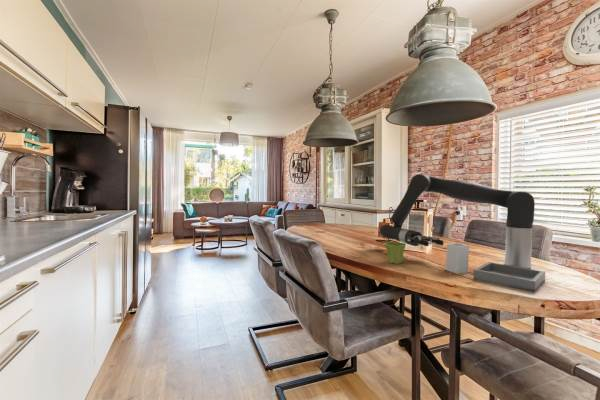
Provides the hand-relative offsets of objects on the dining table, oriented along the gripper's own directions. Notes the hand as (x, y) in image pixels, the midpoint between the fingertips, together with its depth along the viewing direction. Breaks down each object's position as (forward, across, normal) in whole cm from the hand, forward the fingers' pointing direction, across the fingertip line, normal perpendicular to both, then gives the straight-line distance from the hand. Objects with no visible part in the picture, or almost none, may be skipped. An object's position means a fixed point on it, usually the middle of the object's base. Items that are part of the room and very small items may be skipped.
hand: (435, 243), depth 127 cm
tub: (+12, 0, +9) cm, 15 cm away
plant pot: (-8, -15, +10) cm, 20 cm away
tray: (+26, +10, +9) cm, 29 cm away
